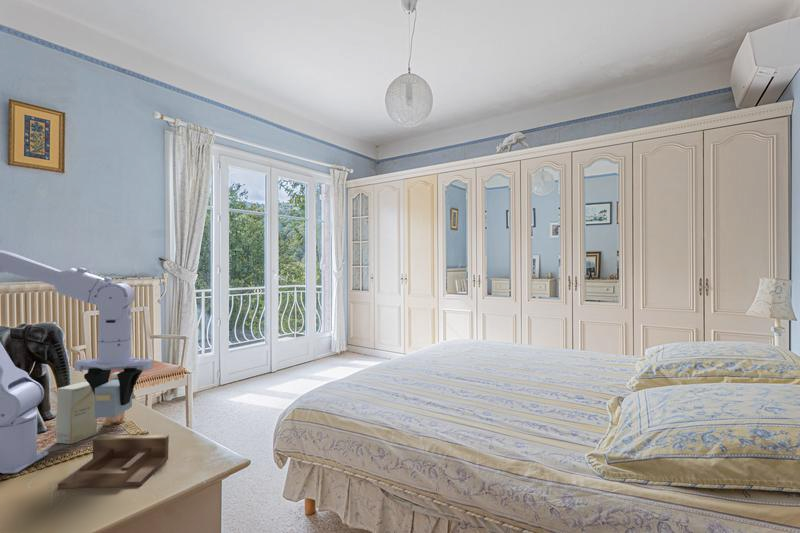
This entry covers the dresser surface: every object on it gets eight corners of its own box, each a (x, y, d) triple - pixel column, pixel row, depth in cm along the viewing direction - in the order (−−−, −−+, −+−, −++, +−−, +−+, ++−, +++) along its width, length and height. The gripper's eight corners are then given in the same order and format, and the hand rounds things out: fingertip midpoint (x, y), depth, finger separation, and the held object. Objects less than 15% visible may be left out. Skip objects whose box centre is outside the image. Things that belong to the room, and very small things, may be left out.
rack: (57, 488, 72) (58, 460, 72) (96, 459, 82) (97, 435, 82) (140, 486, 73) (140, 459, 73) (168, 458, 83) (168, 434, 83)
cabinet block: (91, 419, 81) (92, 389, 81) (112, 407, 88) (112, 379, 88) (112, 418, 82) (113, 389, 82) (131, 406, 88) (132, 379, 88)
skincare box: (71, 445, 88) (72, 390, 88) (54, 443, 89) (55, 388, 89) (97, 433, 95) (98, 381, 95) (82, 431, 96) (83, 380, 95)
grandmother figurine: (98, 428, 97) (99, 376, 97) (97, 423, 100) (98, 372, 100) (136, 420, 103) (137, 371, 103) (133, 416, 106) (134, 368, 105)
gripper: (64, 343, 80) (62, 411, 81) (140, 343, 82) (139, 410, 82) (87, 337, 87) (86, 399, 88) (158, 337, 89) (157, 398, 89)
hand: (113, 403), depth 85 cm, fingers closed on cabinet block, 4 cm apart
